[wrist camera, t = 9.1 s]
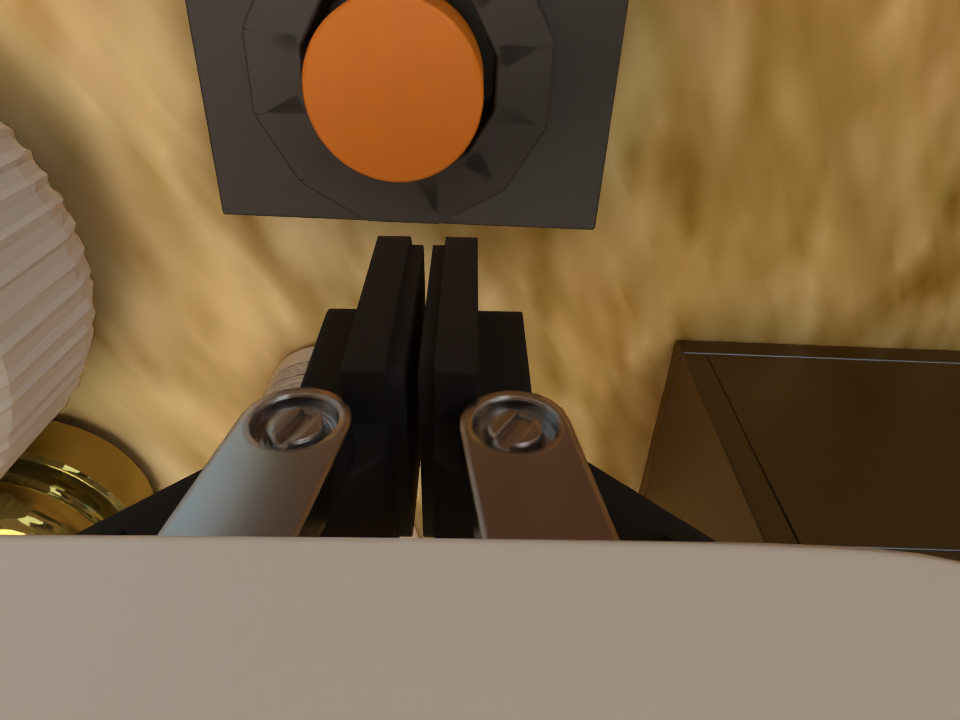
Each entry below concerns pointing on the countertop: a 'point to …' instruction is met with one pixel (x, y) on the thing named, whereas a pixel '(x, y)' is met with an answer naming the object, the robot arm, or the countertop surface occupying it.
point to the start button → (394, 86)
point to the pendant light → (37, 301)
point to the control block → (481, 167)
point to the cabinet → (811, 445)
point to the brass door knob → (67, 483)
